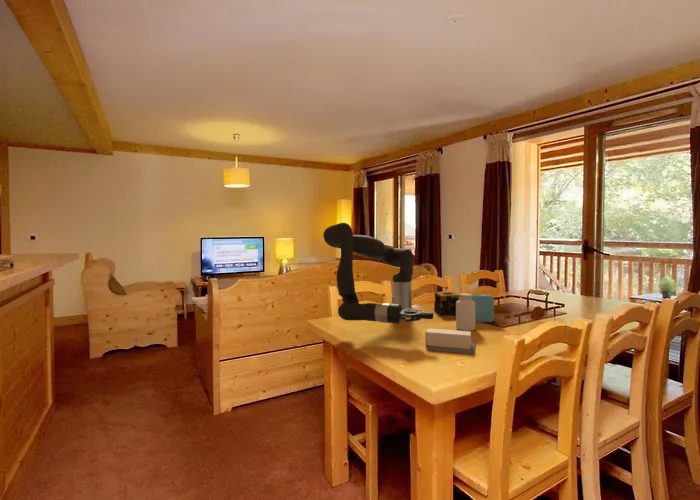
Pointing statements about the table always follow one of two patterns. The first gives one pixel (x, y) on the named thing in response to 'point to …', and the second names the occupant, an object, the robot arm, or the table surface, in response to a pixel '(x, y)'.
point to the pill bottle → (465, 312)
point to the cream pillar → (448, 338)
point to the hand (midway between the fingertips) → (433, 316)
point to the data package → (483, 307)
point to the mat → (454, 349)
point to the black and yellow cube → (446, 302)
